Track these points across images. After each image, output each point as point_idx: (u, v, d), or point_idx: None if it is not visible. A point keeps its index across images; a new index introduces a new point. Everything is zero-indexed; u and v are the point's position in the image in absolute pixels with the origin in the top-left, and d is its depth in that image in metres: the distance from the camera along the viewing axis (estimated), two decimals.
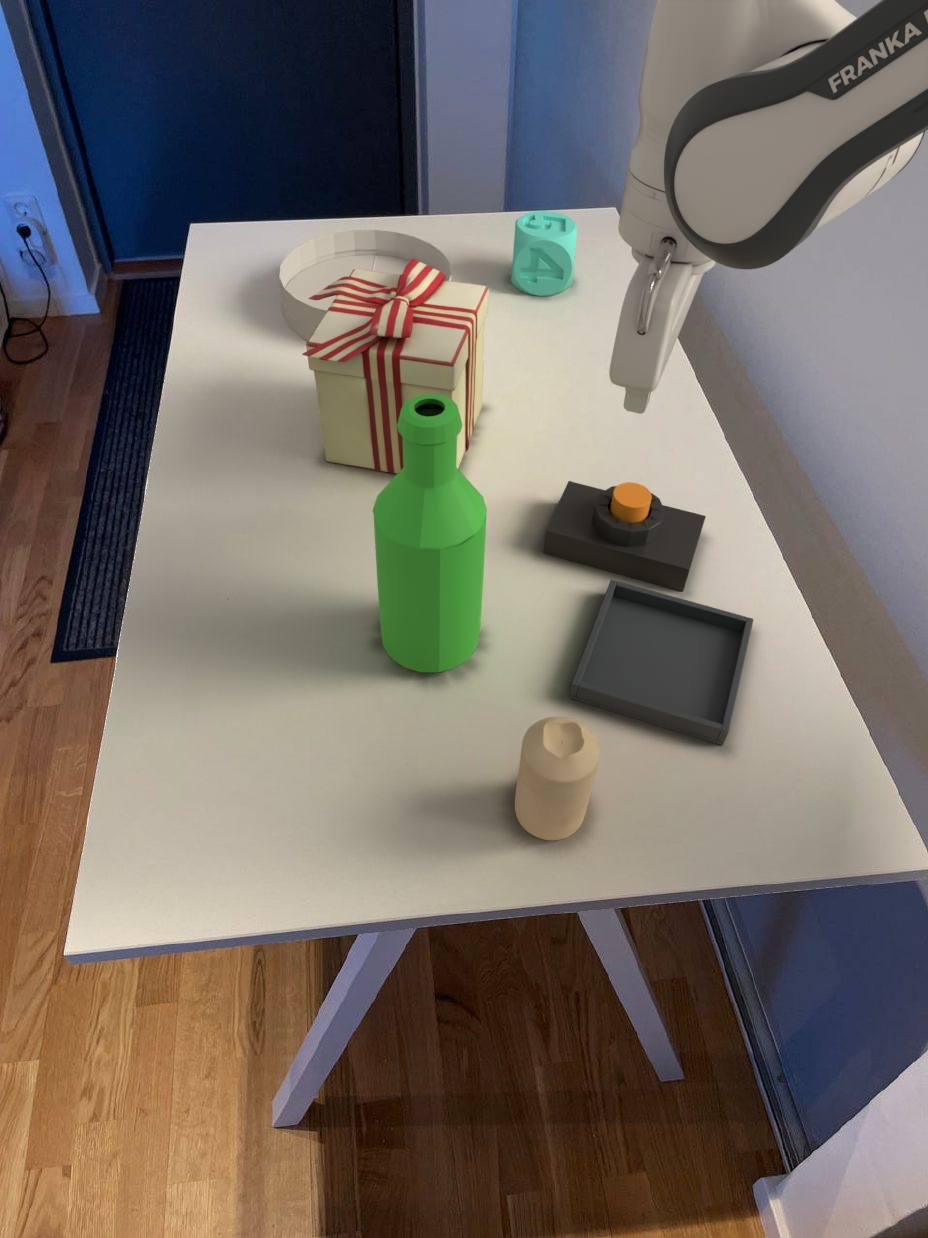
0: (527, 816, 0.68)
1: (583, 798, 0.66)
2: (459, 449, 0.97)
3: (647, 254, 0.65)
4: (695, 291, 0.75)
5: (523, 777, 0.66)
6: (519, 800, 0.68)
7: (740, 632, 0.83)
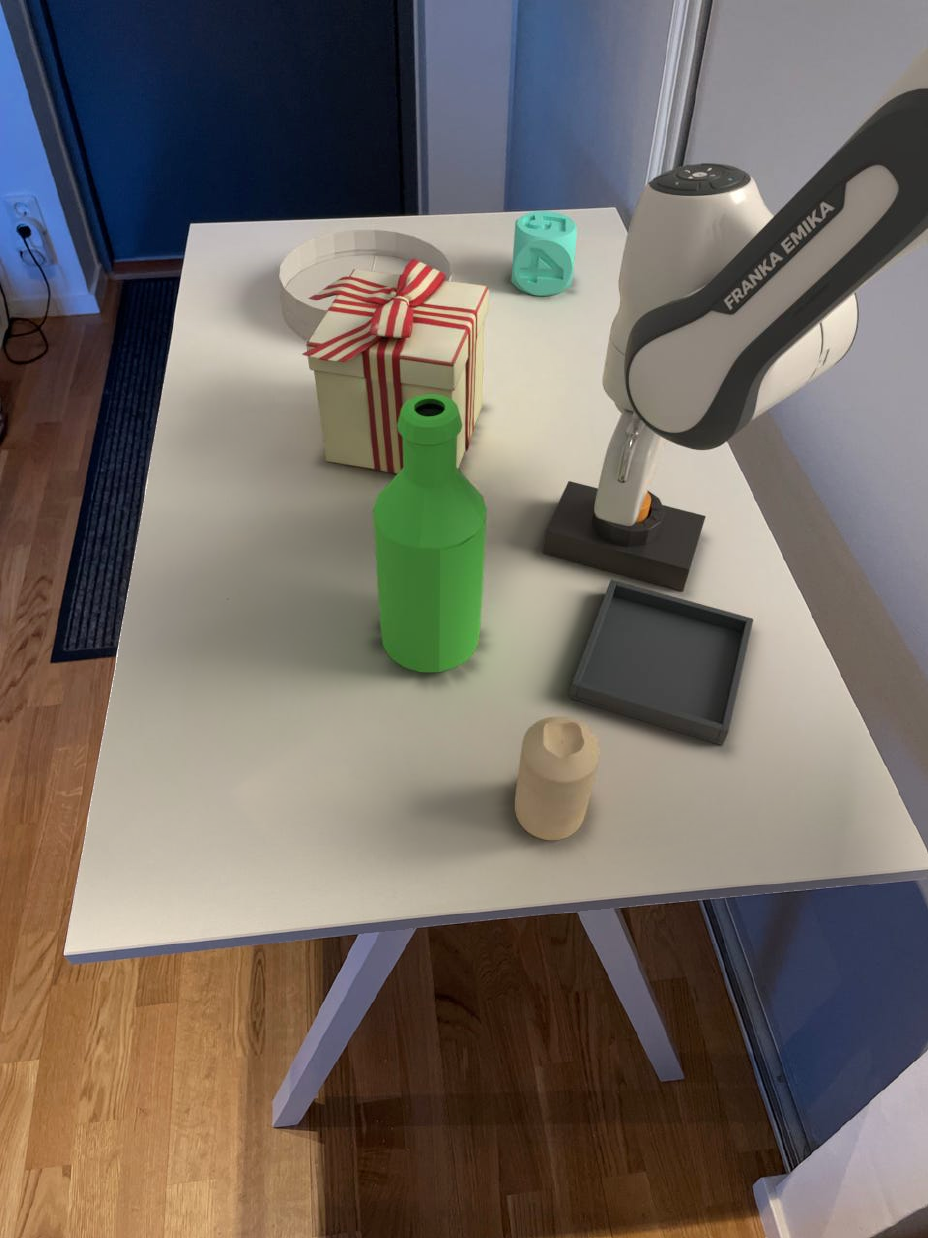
0: (527, 816, 0.68)
1: (583, 798, 0.66)
2: (459, 449, 0.97)
3: (627, 409, 0.75)
4: None
5: (523, 777, 0.66)
6: (519, 800, 0.68)
7: (740, 632, 0.83)
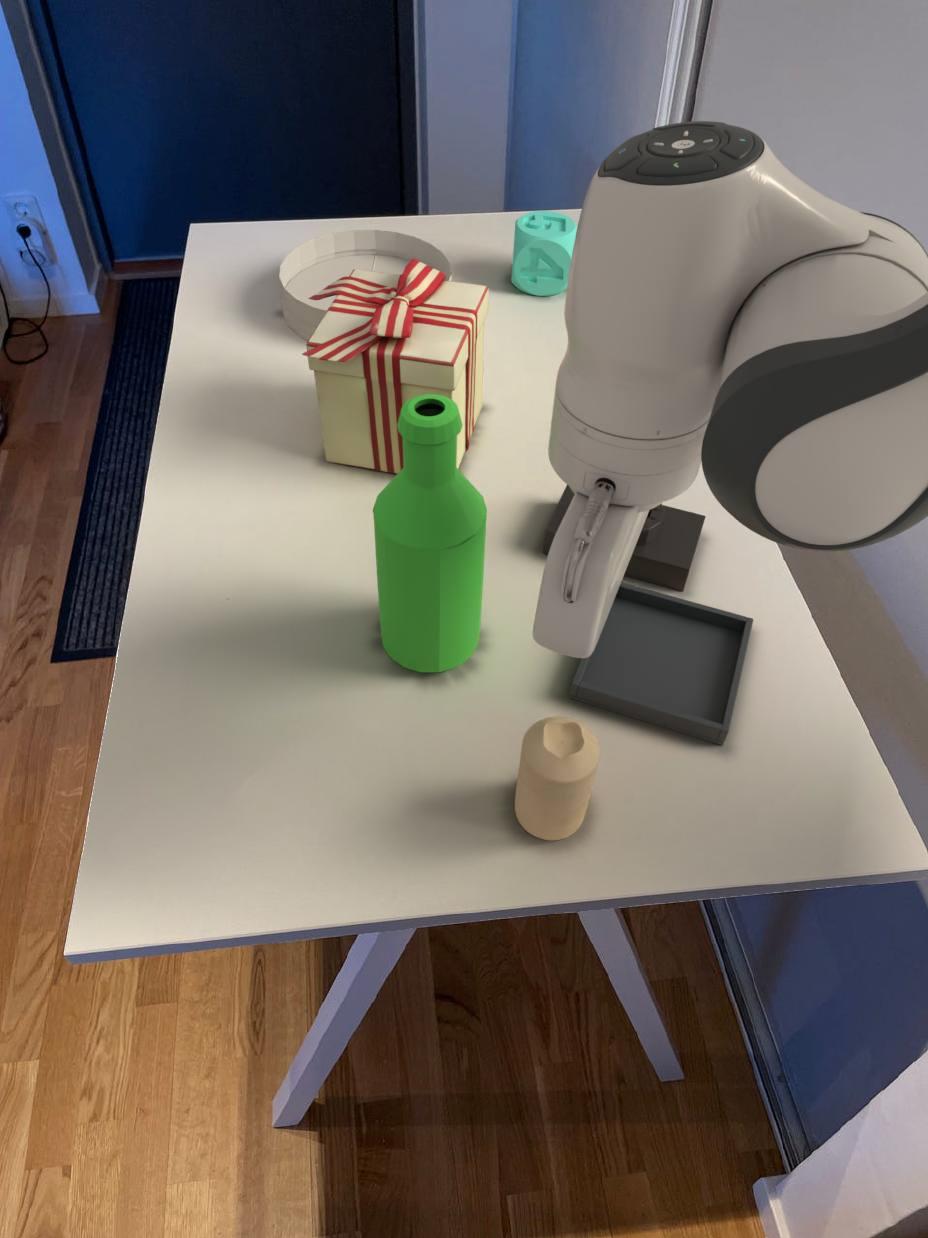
0: (527, 816, 0.68)
1: (583, 798, 0.66)
2: (459, 449, 0.97)
3: (580, 492, 0.52)
4: None
5: (523, 777, 0.66)
6: (519, 800, 0.68)
7: (740, 632, 0.83)
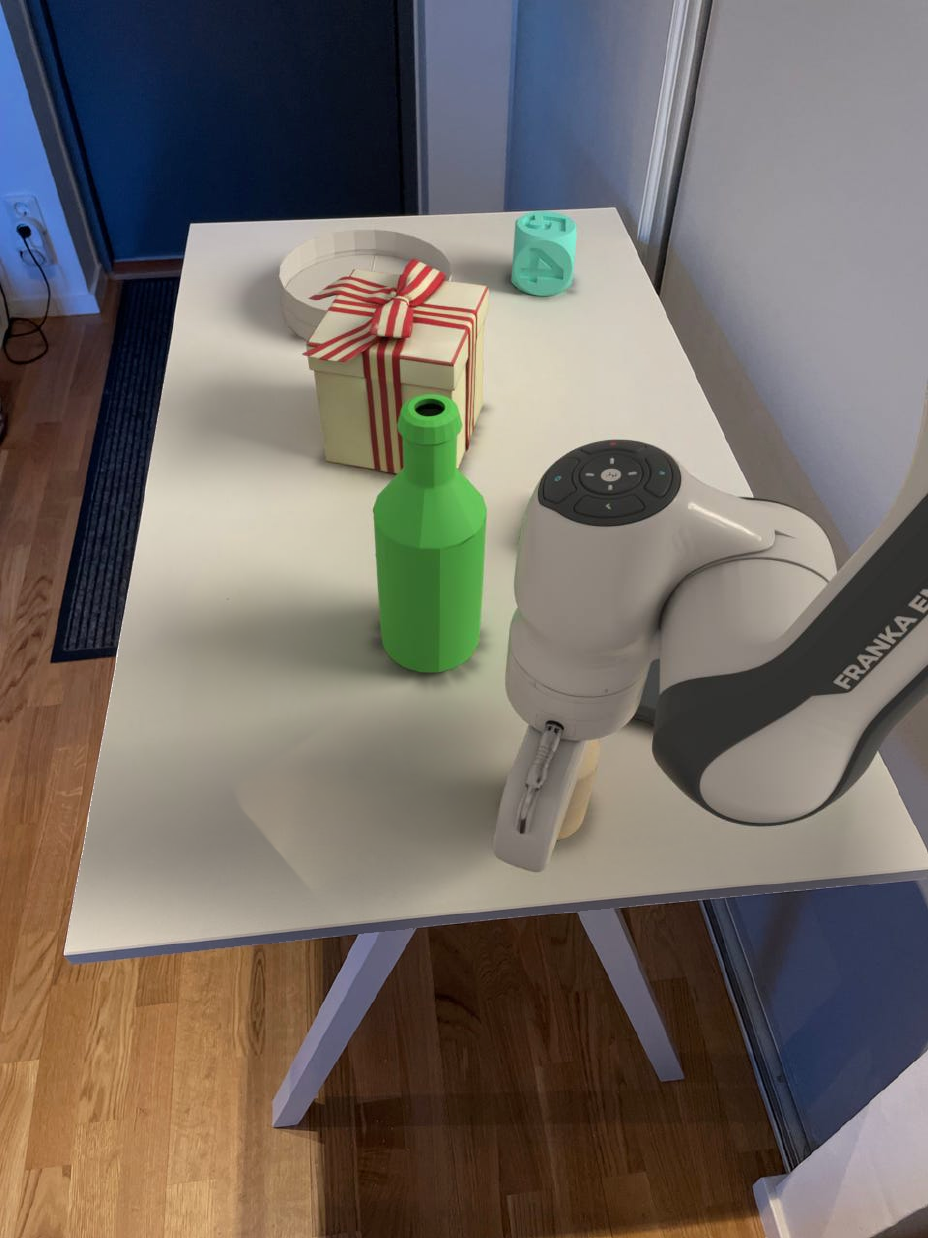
0: None
1: (583, 798, 0.66)
2: (459, 449, 0.97)
3: (533, 727, 0.57)
4: None
5: None
6: None
7: None
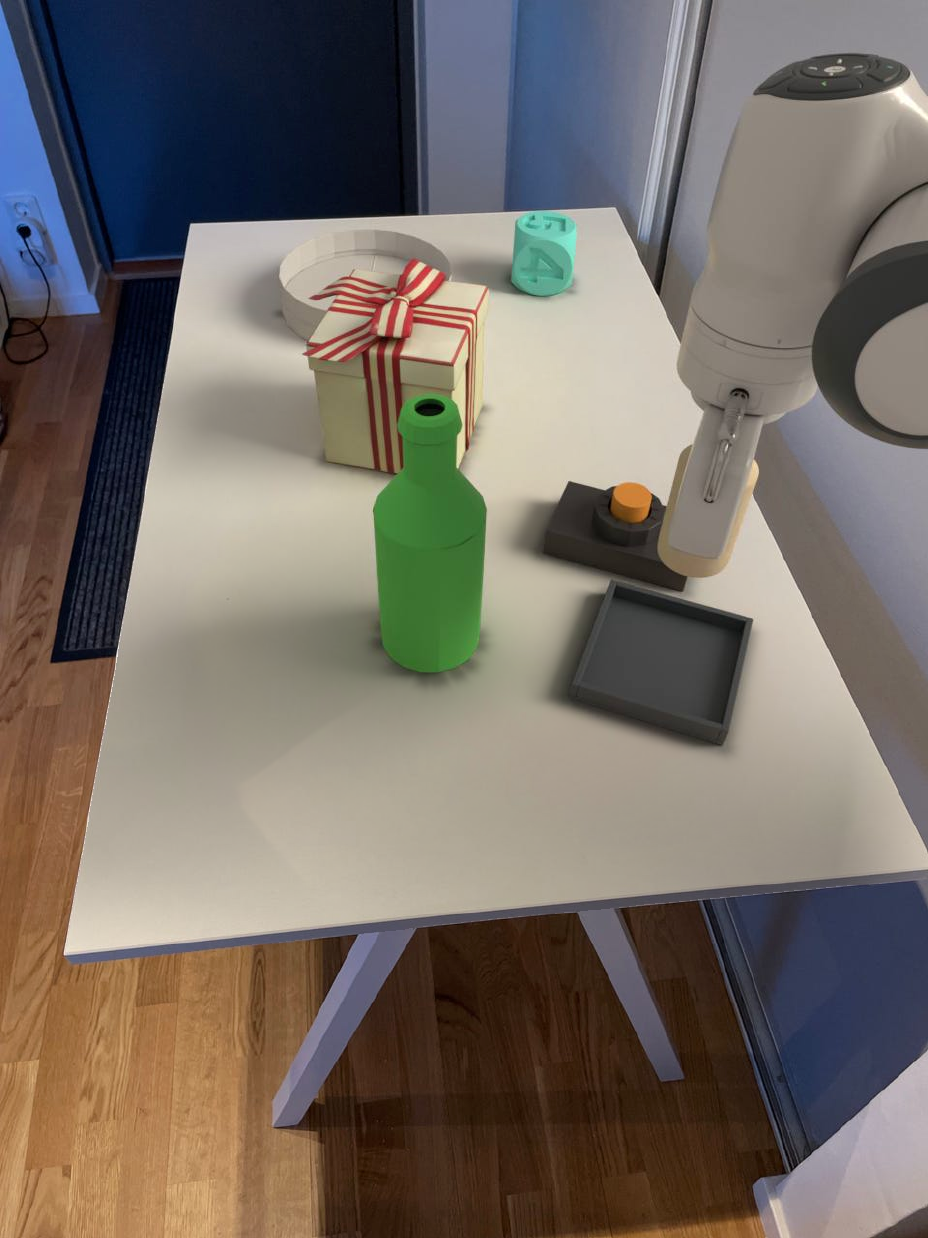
0: None
1: (738, 521, 0.65)
2: (459, 449, 0.97)
3: (713, 404, 0.56)
4: None
5: None
6: None
7: (740, 632, 0.83)
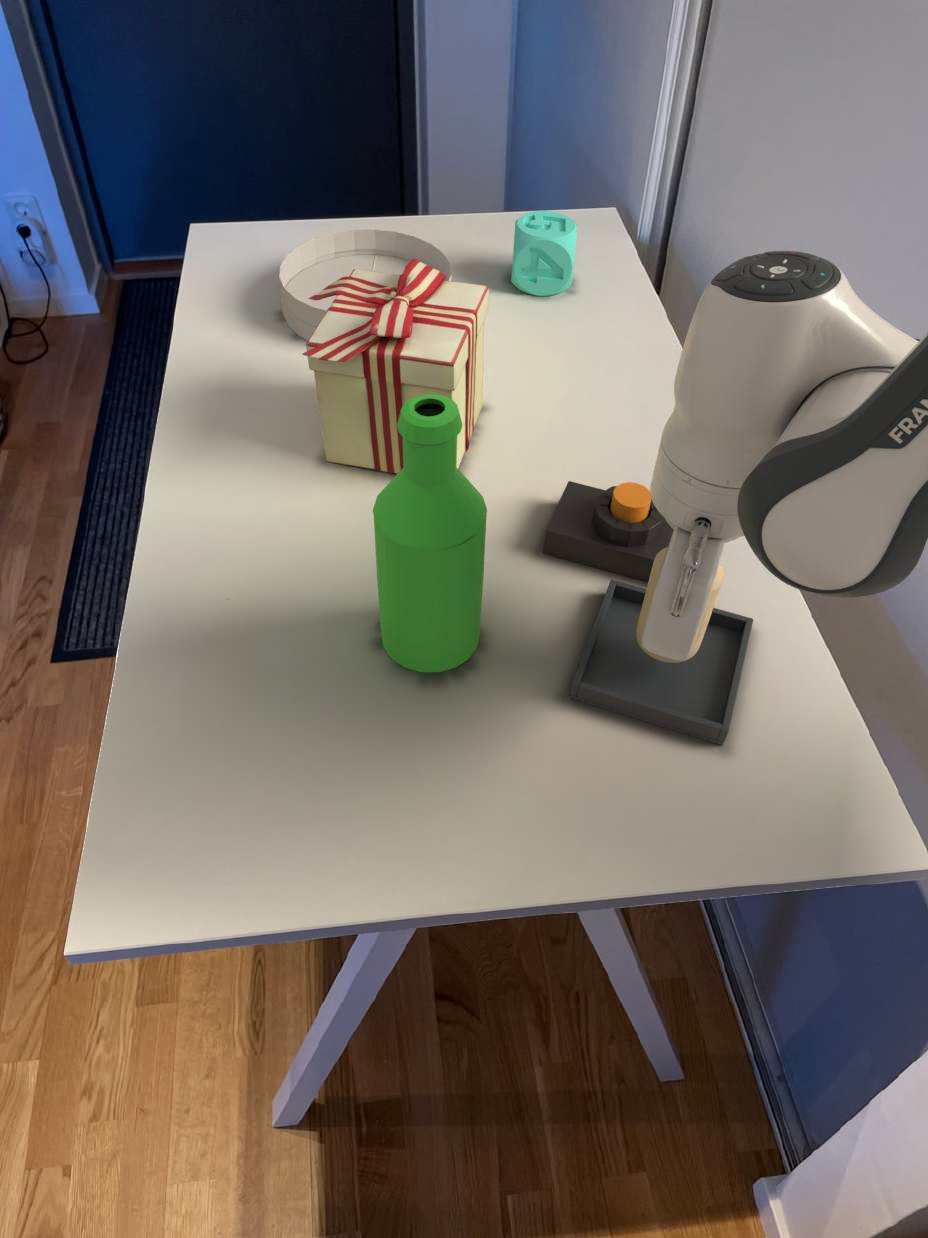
0: None
1: (706, 616, 0.73)
2: (459, 449, 0.97)
3: (681, 528, 0.64)
4: None
5: None
6: None
7: (740, 632, 0.83)
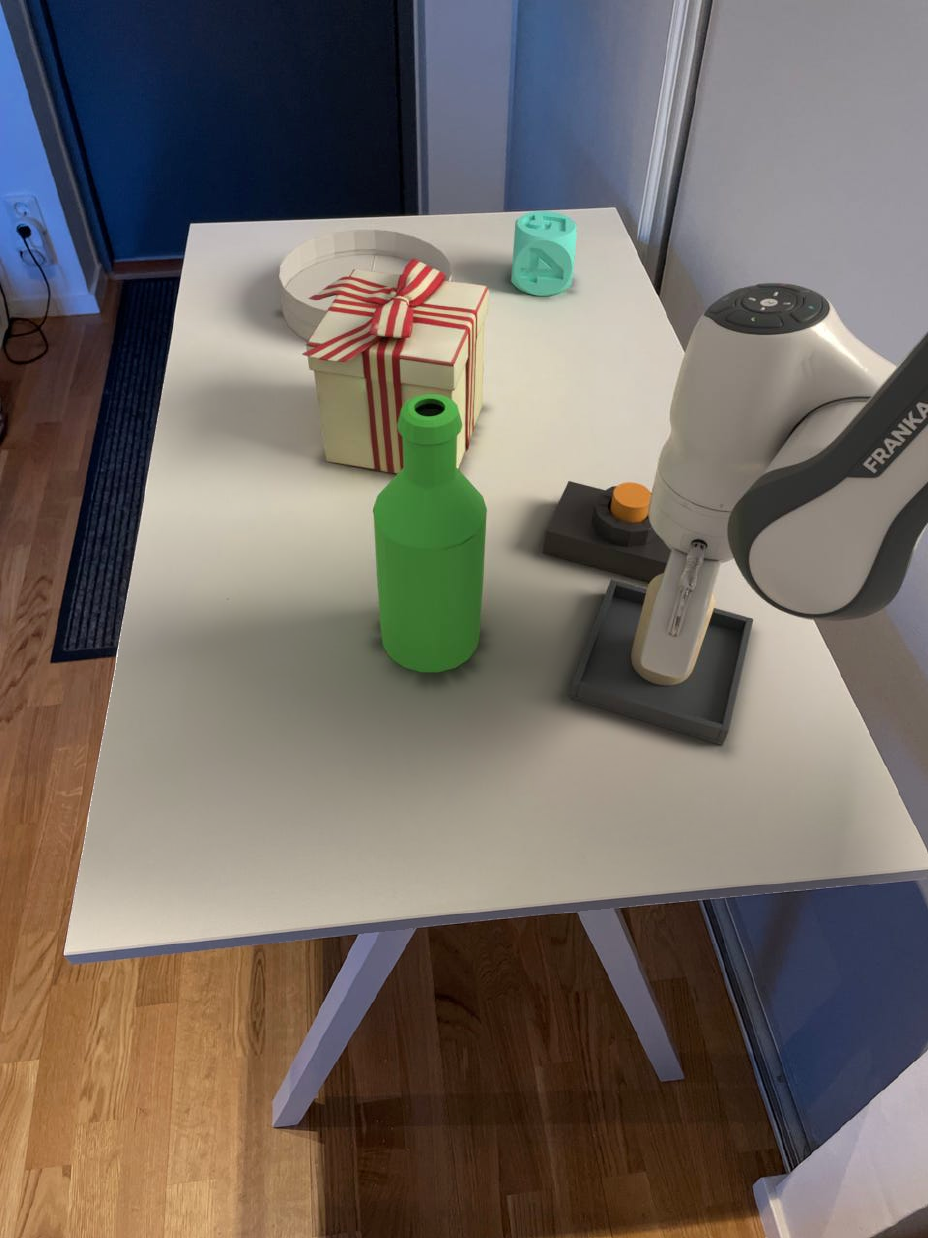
0: None
1: (699, 641, 0.76)
2: (459, 449, 0.97)
3: (677, 549, 0.66)
4: None
5: (646, 623, 0.75)
6: (639, 648, 0.78)
7: (740, 632, 0.83)
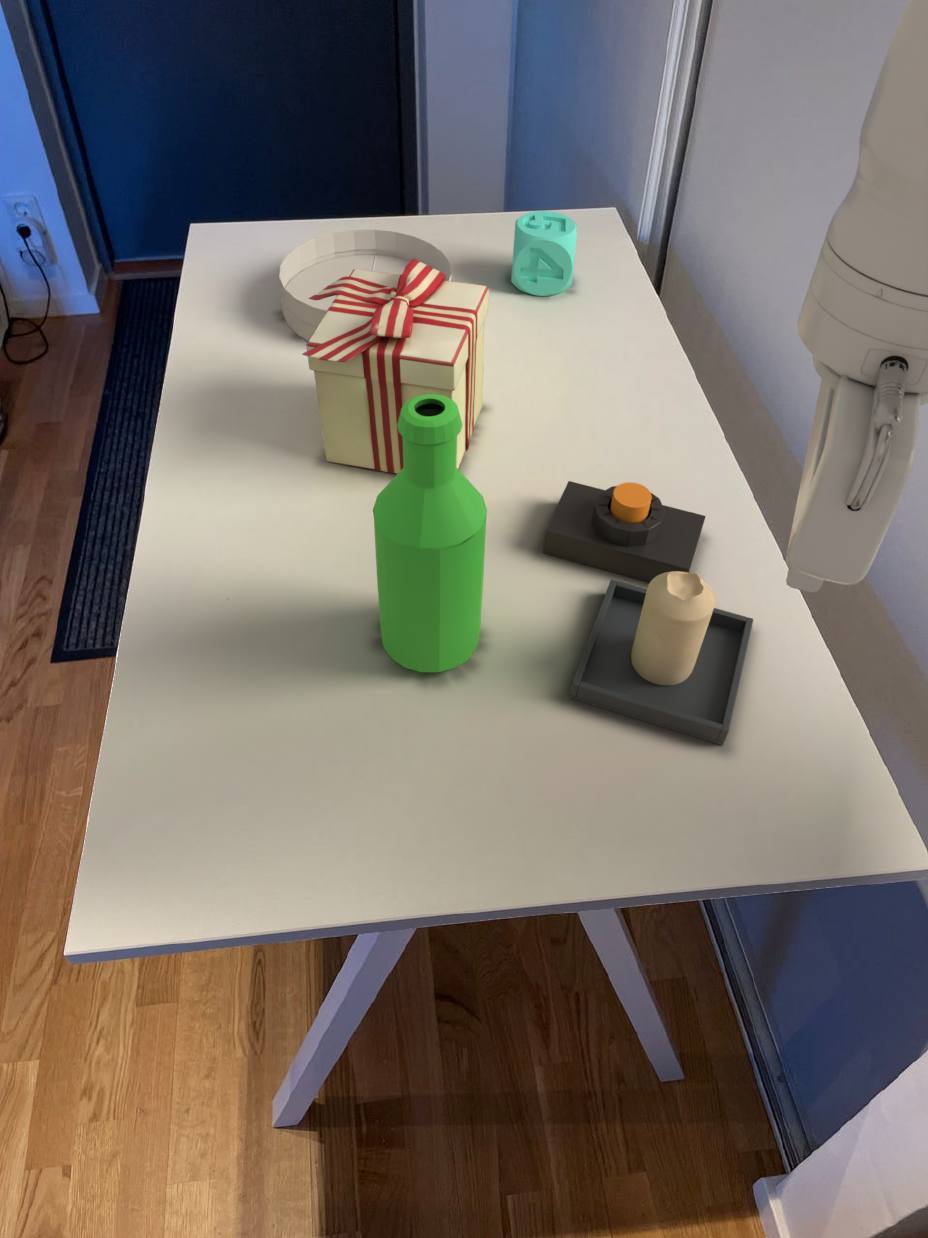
0: (646, 662, 0.78)
1: (699, 641, 0.76)
2: (459, 449, 0.97)
3: (854, 379, 0.42)
4: None
5: (647, 623, 0.75)
6: (639, 648, 0.78)
7: (740, 632, 0.83)
